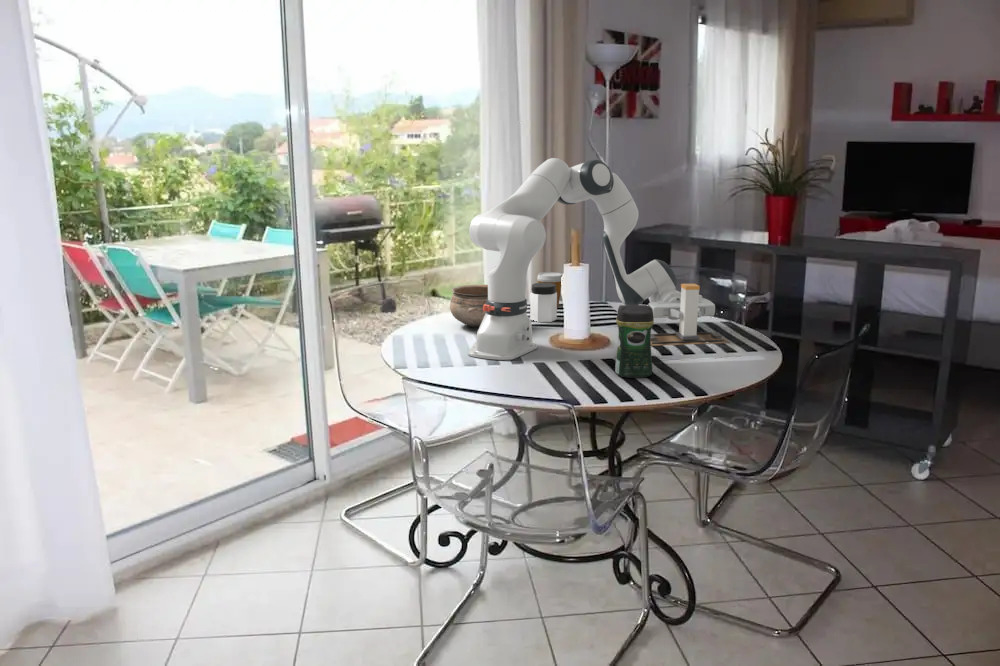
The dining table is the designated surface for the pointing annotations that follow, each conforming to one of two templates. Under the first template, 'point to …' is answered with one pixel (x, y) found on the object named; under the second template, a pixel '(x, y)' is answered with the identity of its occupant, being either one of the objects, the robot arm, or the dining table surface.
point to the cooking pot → (469, 304)
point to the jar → (543, 302)
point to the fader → (689, 312)
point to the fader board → (675, 340)
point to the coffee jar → (634, 341)
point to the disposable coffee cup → (551, 281)
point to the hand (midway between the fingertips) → (689, 315)
